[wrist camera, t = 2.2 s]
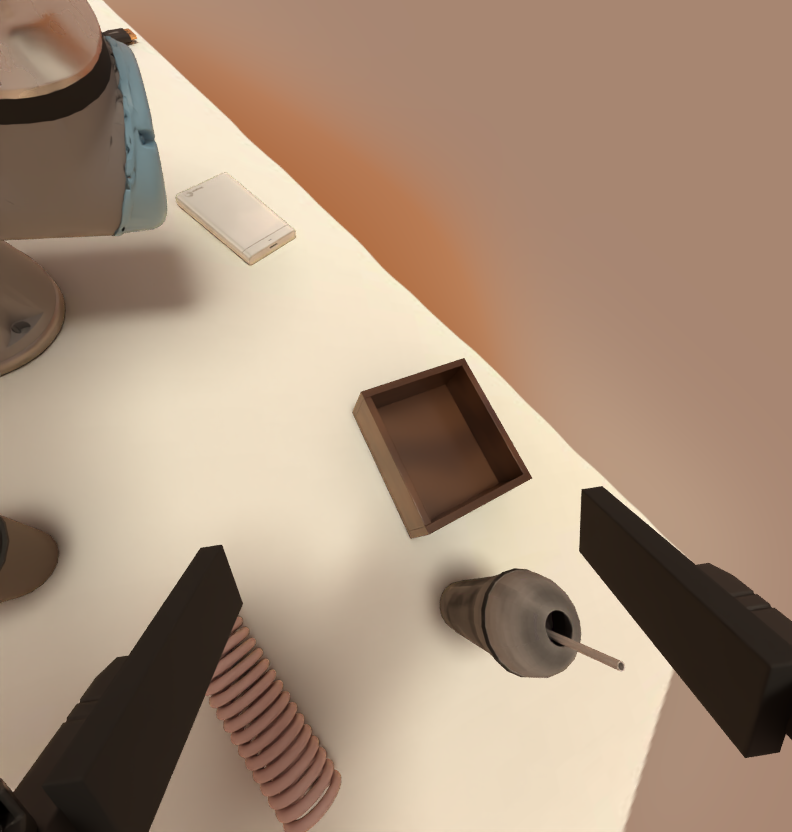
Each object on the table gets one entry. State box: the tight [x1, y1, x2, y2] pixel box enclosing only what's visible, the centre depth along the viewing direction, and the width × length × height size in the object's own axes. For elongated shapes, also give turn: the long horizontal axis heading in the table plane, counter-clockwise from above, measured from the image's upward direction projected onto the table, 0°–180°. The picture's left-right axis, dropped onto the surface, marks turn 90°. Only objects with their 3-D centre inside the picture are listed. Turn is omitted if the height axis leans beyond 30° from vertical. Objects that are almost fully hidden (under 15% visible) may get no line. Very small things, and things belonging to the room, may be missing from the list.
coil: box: [205, 617, 341, 832], centre depth 29 cm, size 5×5×18 cm
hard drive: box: [176, 172, 296, 265], centre depth 48 cm, size 2×8×12 cm
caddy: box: [352, 358, 532, 538], centre depth 41 cm, size 16×14×6 cm
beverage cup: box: [440, 568, 625, 678], centre depth 29 cm, size 7×7×20 cm
